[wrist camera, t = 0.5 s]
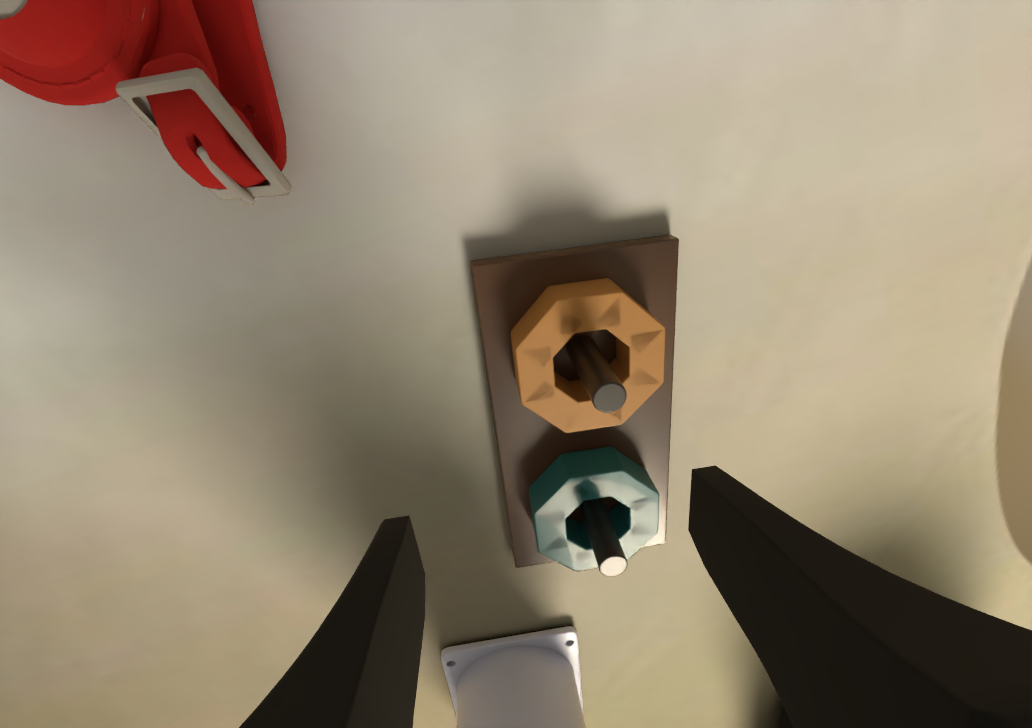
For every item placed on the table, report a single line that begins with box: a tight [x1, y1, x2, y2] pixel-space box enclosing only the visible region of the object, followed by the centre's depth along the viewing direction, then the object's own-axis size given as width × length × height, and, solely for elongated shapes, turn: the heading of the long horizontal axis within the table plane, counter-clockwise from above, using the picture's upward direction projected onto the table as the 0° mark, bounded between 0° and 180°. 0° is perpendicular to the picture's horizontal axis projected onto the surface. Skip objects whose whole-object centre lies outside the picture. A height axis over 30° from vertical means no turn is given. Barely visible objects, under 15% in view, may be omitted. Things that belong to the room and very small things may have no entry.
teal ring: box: [529, 447, 659, 571], centre depth 23 cm, size 6×6×2 cm
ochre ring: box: [510, 278, 665, 433], centre depth 19 cm, size 6×6×2 cm
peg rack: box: [471, 235, 679, 576], centre depth 20 cm, size 16×8×5 cm, turn 6°
